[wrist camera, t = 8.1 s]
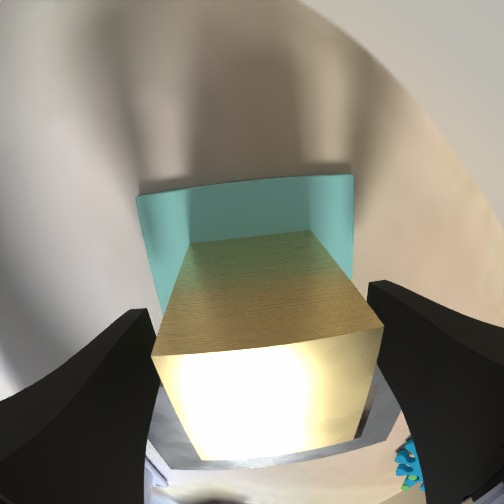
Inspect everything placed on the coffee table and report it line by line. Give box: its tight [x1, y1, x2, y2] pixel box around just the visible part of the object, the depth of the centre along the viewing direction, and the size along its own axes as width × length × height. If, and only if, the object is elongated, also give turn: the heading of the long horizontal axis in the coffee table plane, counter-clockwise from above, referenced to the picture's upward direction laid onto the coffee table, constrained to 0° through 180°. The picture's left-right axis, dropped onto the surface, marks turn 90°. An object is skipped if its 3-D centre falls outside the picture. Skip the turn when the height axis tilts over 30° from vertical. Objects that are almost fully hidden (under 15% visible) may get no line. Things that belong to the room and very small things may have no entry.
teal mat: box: [136, 174, 354, 315], centre depth 11 cm, size 8×8×1 cm
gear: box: [394, 439, 425, 491], centre depth 18 cm, size 11×6×10 cm
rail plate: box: [148, 364, 401, 470], centre depth 15 cm, size 16×10×1 cm, turn 95°
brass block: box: [151, 230, 384, 460], centre depth 9 cm, size 4×4×6 cm
